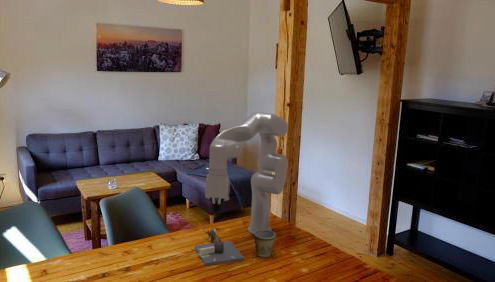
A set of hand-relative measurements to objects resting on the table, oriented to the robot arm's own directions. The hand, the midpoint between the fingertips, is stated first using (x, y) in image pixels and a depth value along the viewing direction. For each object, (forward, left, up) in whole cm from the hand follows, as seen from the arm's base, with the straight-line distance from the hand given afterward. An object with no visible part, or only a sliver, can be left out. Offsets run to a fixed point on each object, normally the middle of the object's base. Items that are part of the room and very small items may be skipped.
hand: (217, 211), depth 179 cm
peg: (-3, -1, -21) cm, 21 cm away
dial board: (-4, +3, -22) cm, 23 cm away
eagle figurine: (-18, +4, -23) cm, 29 cm away
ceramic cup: (+1, +24, -22) cm, 33 cm away
